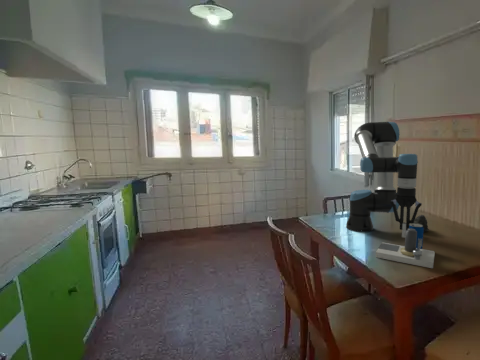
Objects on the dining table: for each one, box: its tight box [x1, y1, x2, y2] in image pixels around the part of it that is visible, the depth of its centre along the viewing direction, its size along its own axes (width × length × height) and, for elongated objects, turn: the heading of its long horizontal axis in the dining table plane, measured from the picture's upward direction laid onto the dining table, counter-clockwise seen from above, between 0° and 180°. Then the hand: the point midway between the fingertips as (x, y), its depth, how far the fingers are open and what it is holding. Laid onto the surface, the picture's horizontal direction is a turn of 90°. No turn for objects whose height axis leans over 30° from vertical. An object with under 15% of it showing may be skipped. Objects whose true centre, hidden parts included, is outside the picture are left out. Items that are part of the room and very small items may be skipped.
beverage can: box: [409, 223, 424, 249], centre depth 143 cm, size 6×6×12 cm
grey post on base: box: [400, 228, 417, 257], centre depth 130 cm, size 8×8×14 cm
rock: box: [414, 214, 430, 233], centre depth 170 cm, size 12×10×10 cm
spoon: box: [413, 238, 423, 256], centre depth 130 cm, size 3×16×3 cm, turn 145°
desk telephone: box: [375, 242, 436, 269], centre depth 133 cm, size 22×15×4 cm
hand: (404, 236), depth 137 cm, fingers closed
